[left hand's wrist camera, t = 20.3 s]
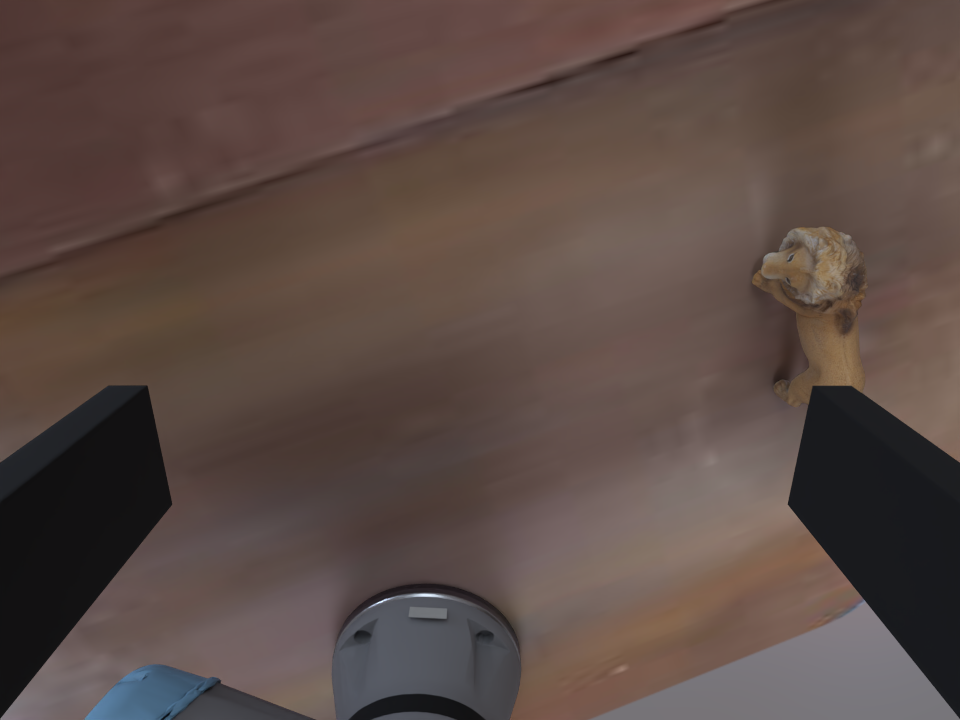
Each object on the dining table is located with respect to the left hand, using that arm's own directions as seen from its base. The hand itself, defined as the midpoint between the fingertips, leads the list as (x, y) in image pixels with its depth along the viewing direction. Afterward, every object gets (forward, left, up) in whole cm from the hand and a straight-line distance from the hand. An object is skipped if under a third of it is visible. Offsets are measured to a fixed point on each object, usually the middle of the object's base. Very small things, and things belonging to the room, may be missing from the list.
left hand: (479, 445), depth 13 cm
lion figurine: (-5, -20, -28) cm, 35 cm away
